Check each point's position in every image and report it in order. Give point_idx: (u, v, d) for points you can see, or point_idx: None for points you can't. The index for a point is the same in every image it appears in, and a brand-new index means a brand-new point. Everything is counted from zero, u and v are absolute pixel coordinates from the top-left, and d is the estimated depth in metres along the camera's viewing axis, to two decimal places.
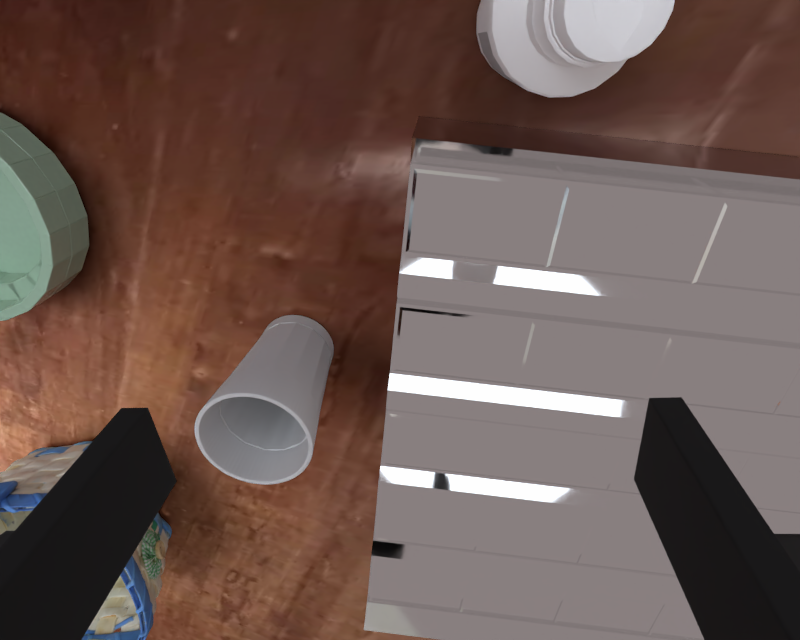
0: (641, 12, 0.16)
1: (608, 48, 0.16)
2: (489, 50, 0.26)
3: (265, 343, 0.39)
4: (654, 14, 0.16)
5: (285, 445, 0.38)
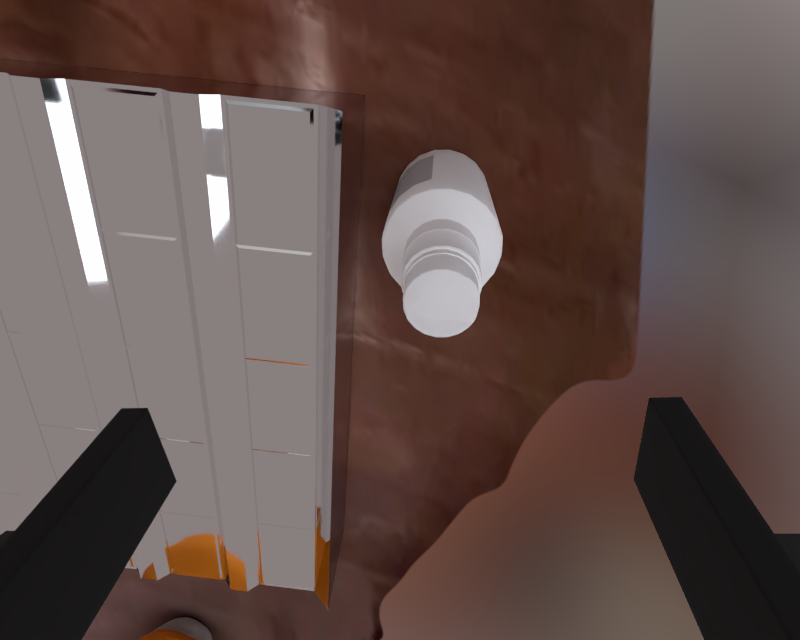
0: (434, 318, 0.23)
1: (412, 302, 0.22)
2: (418, 178, 0.30)
3: None
4: (432, 327, 0.23)
5: None
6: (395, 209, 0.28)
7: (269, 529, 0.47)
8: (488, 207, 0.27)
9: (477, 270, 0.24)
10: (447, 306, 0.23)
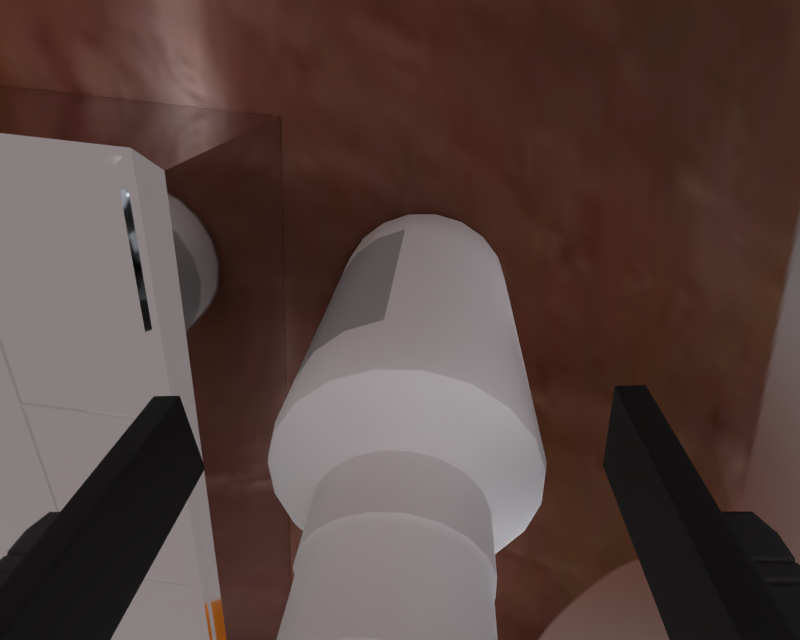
0: None
1: None
2: (360, 302, 0.14)
3: None
4: None
5: None
6: (292, 404, 0.12)
7: None
8: (515, 408, 0.11)
9: None
10: None
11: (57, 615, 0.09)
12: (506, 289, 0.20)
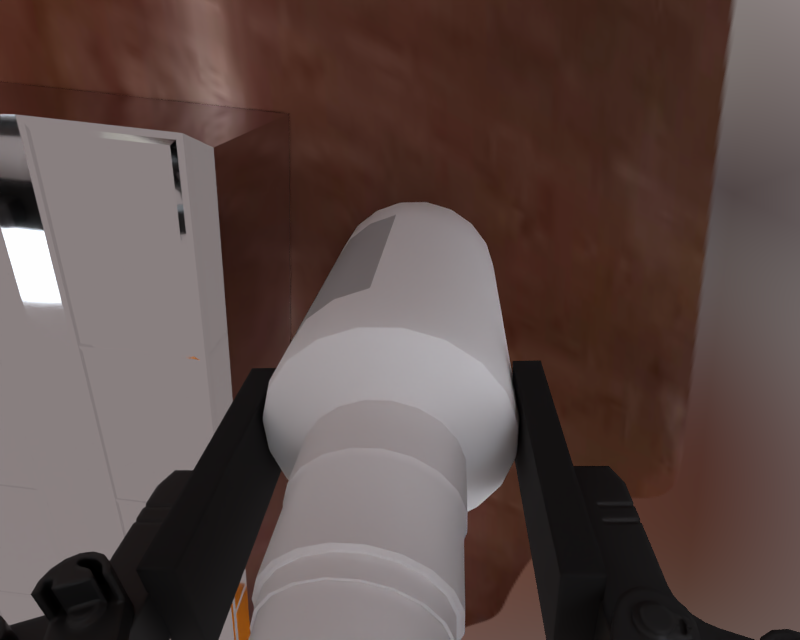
0: None
1: None
2: (350, 276, 0.15)
3: None
4: None
5: None
6: (284, 362, 0.13)
7: None
8: (488, 364, 0.12)
9: (451, 601, 0.09)
10: None
11: (207, 556, 0.10)
12: (493, 272, 0.21)
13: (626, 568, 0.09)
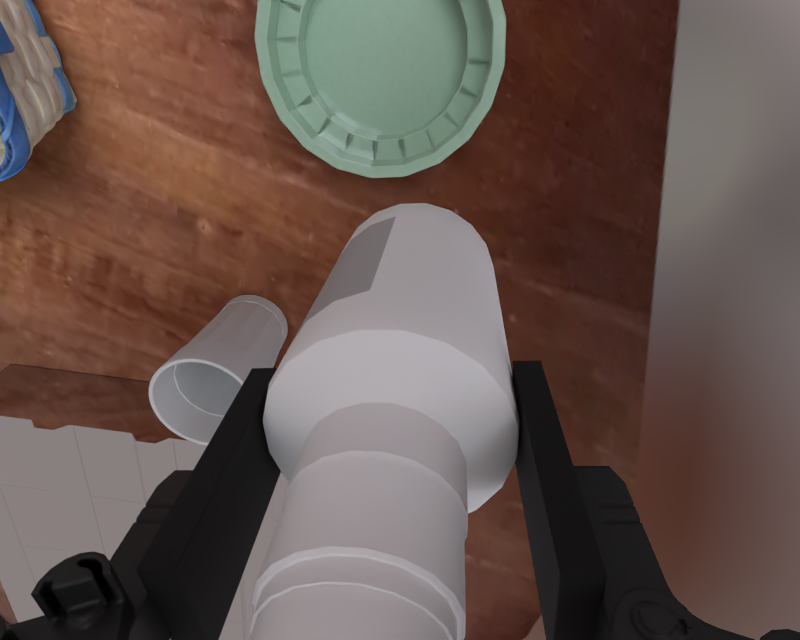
0: None
1: None
2: (350, 278, 0.15)
3: (273, 344, 0.43)
4: None
5: (180, 386, 0.41)
6: (284, 364, 0.13)
7: None
8: (488, 367, 0.12)
9: (452, 605, 0.09)
10: None
11: (207, 556, 0.10)
12: (493, 273, 0.20)
13: (627, 567, 0.09)
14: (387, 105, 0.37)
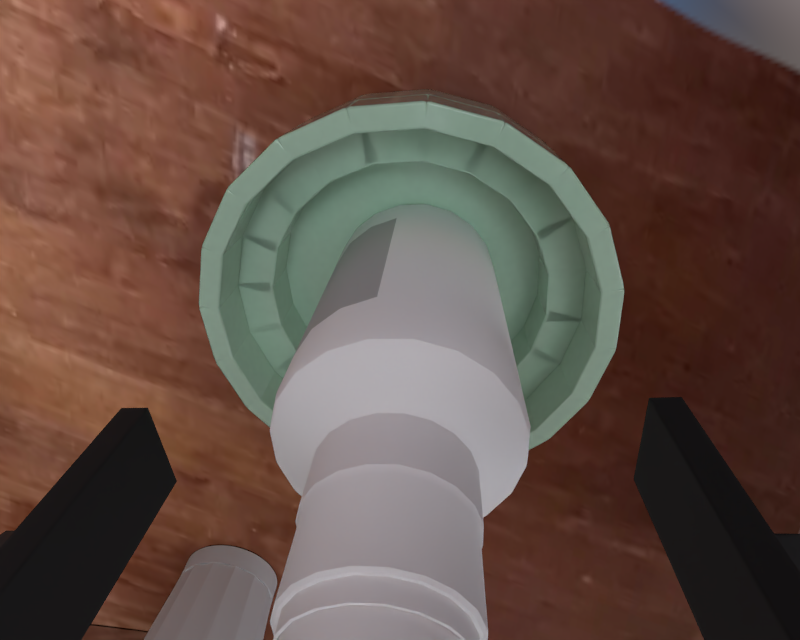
0: None
1: None
2: (354, 283, 0.15)
3: None
4: None
5: None
6: (292, 374, 0.12)
7: None
8: (499, 374, 0.12)
9: (475, 621, 0.08)
10: None
11: None
12: (494, 274, 0.20)
13: None
14: None
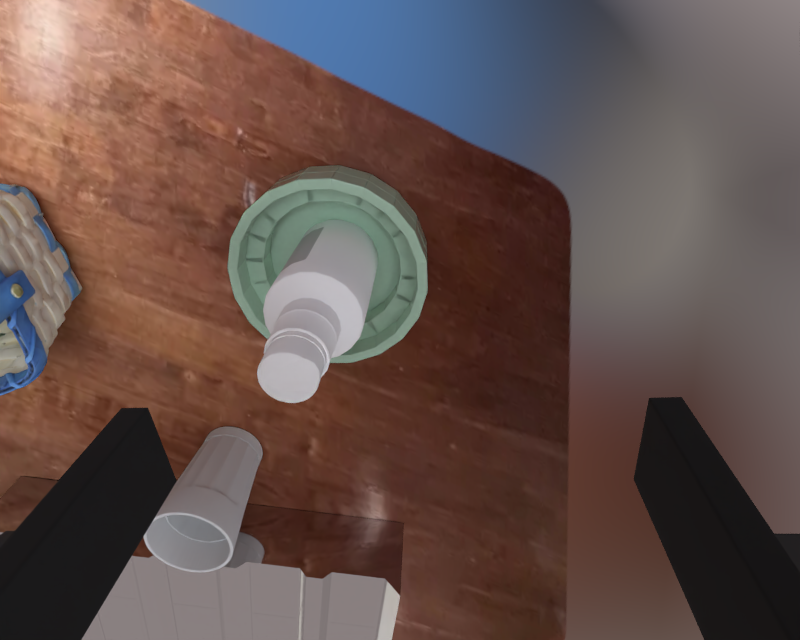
0: (283, 388, 0.28)
1: (264, 376, 0.28)
2: (299, 255, 0.36)
3: (248, 477, 0.51)
4: (283, 395, 0.28)
5: (170, 519, 0.48)
6: (271, 286, 0.33)
7: None
8: (348, 286, 0.33)
9: (324, 347, 0.29)
10: (294, 379, 0.28)
11: None
12: (374, 255, 0.41)
13: None
14: None
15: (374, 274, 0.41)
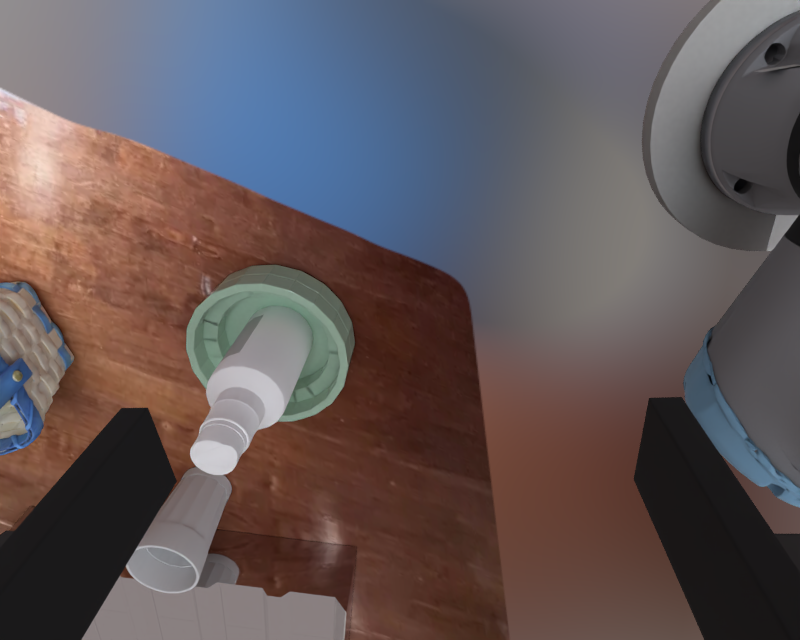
0: (210, 465, 0.37)
1: (195, 456, 0.37)
2: (236, 346, 0.45)
3: (216, 512, 0.60)
4: (211, 469, 0.37)
5: (149, 548, 0.58)
6: (211, 376, 0.42)
7: None
8: (270, 376, 0.42)
9: (243, 431, 0.38)
10: (218, 458, 0.37)
11: None
12: (306, 335, 0.50)
13: None
14: None
15: (305, 352, 0.49)
